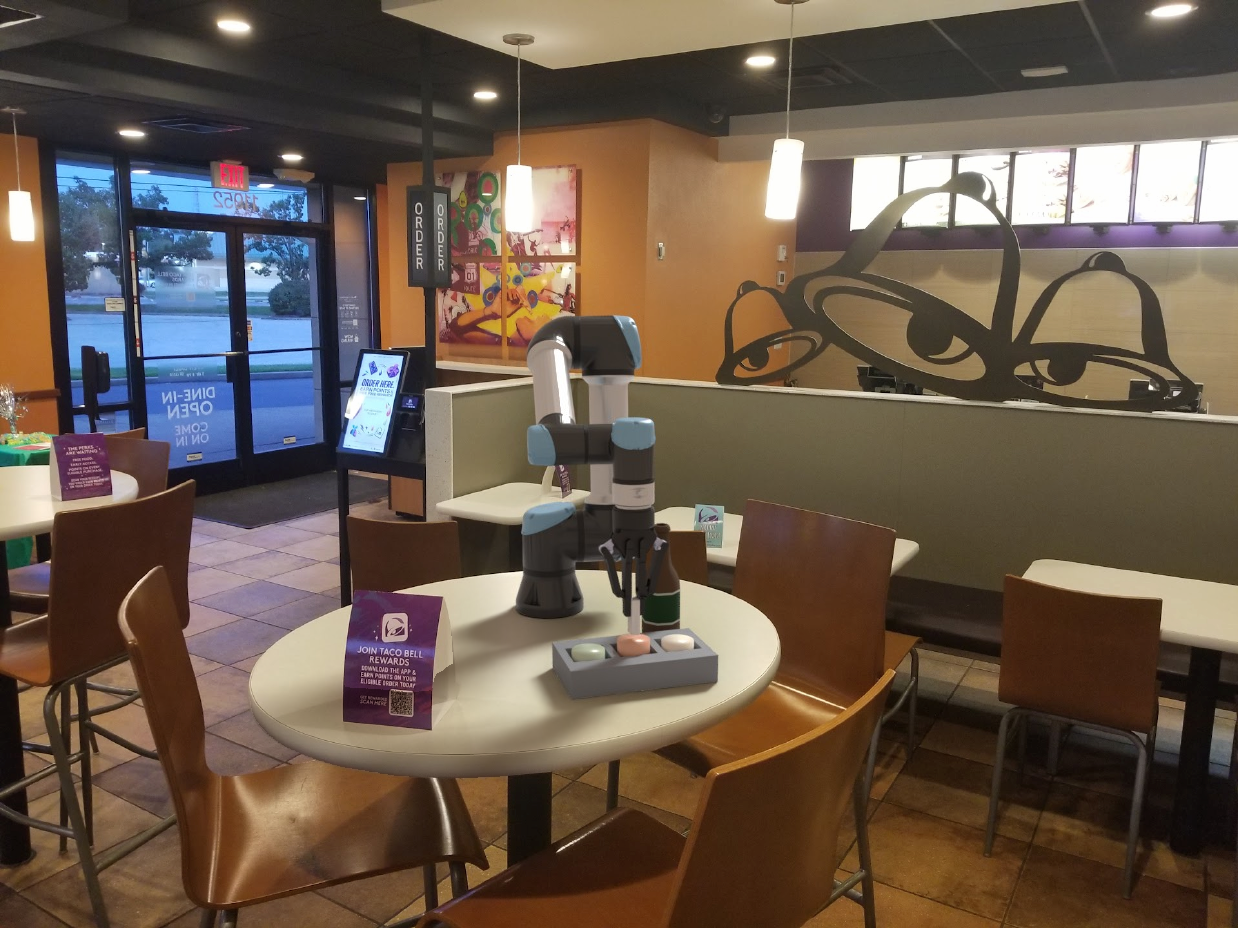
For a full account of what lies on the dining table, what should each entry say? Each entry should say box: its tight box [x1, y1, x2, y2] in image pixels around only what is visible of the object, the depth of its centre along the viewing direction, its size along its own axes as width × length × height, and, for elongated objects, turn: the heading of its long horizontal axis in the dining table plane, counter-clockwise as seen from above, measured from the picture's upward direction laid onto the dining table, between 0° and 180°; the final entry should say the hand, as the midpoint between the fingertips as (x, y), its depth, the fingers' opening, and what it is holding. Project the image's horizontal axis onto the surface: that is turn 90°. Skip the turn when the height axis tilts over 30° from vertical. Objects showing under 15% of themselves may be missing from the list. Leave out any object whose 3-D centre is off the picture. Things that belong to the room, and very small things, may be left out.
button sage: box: [572, 644, 605, 662], centre depth 169 cm, size 6×6×4 cm
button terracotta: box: [617, 633, 650, 657], centre depth 172 cm, size 6×6×4 cm
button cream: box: [661, 634, 694, 652], centre depth 174 cm, size 6×6×4 cm
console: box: [551, 627, 719, 700], centre depth 172 cm, size 15×27×5 cm, turn 106°
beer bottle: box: [641, 522, 681, 633], centre depth 188 cm, size 8×8×24 cm
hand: (633, 632), depth 171 cm, fingers closed
